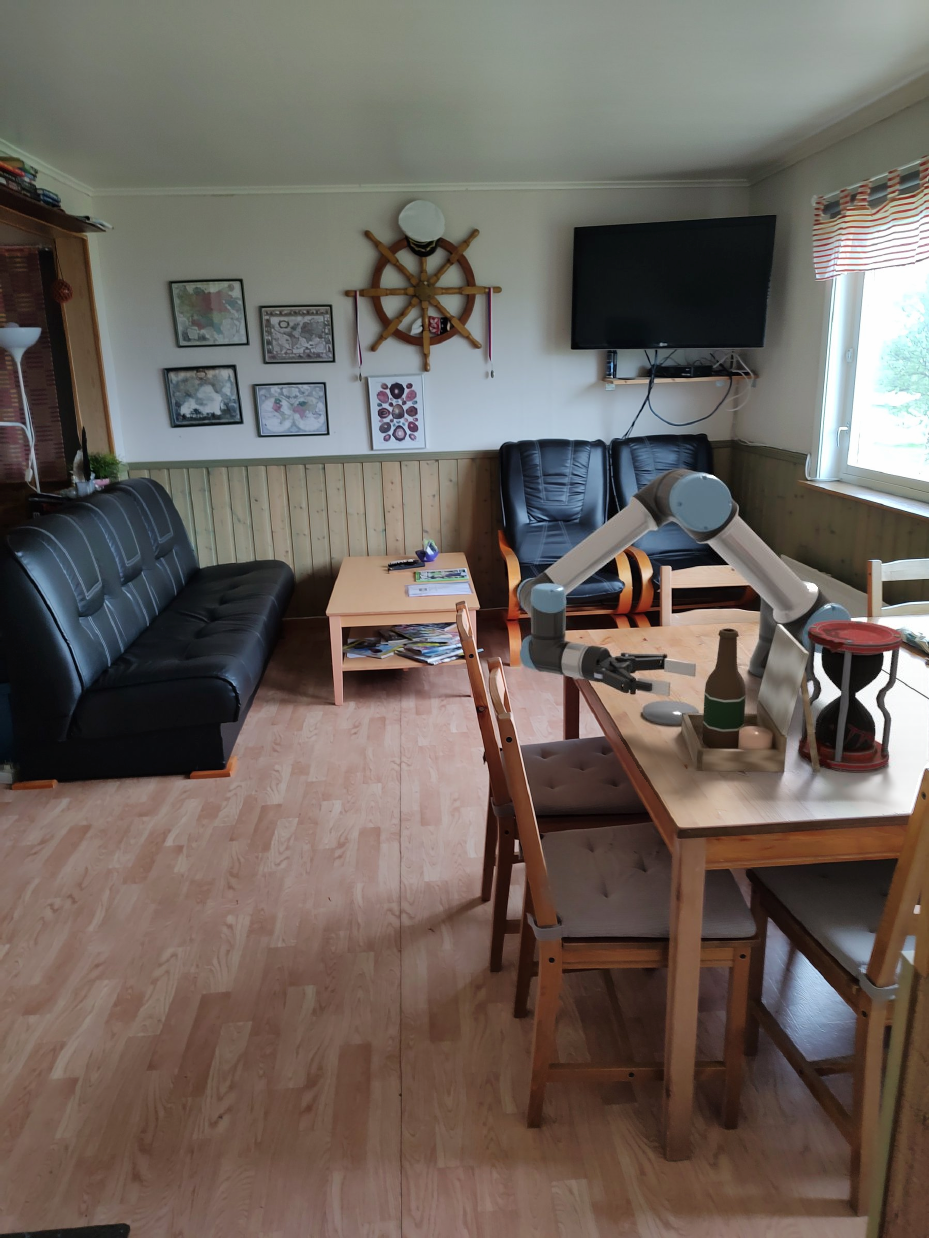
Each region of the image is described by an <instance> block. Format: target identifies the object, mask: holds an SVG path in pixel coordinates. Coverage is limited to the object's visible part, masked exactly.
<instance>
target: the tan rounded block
mask: <svg viewBox="0 0 929 1238" xmlns="http://www.w3.org/2000/svg"><path fill="white" fill-rule="evenodd" d="M772 736H773V733H772V732H771V731H770V730H768V729H766V728H762V727H757V726H747V727H743V728H741V729H740V730H739V743H738V749H772Z"/></svg>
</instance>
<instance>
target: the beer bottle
mask: <svg viewBox="0 0 929 1238" xmlns="http://www.w3.org/2000/svg"><path fill="white" fill-rule="evenodd" d="M718 631H719V632H718V634H717V635H718V636H719V640H718V649H717V656H716V657H717V658H716V664H715V666H714V667H715V668H714V670H712V671H711V673H710V674H709V675H708V676H707V677H708V678H707V679H706V682H705V686H704V687H705V688H704V693H703V694H704V695H703V696H704V698H703V712H702V713H703V733H702V743H703V744H704V746H706V749H738V743H739V730H740V729H741V728H743V727H744V714H746V713H745V712H746V700H747V699H746V698H747V697H746V696H747V695H746V694H747V693H746V691H747V690H746V683H745V680H744V678H743V676H742V674H741V673H740V671H739V667H738V637H739V631H738V630H736V629H734V628H721V629H720V630H718Z"/></svg>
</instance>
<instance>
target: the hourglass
mask: <svg viewBox="0 0 929 1238" xmlns="http://www.w3.org/2000/svg"><path fill="white" fill-rule="evenodd" d="M808 638H809V649H808V653H809V656H808V661H807V672H808V676H809V677H810V679H809V680H811V681H812V685H813V691H812V695H811V696H809V699H810V705H811V706H812V705H813V703H814V702H816V701H817V700H818V699H819V698H820V695H821V694H822V685H821V682H820V680H819V679H818V678H817V677H816V674H815V670H814V671H813V666H814V667H815V654H816V652H815V643H816V644H818V645H821V646H823V648H822V654H821V653H820V655H821V656H820V657H821V658H820V659H821V667H822V669H823V672H824V674H825V675H826V676H827V678H828V679H829V681H831V682H832V683H833V685H835V687H836V688H837V690H839V692H840V695H838V696H837V697H835V698H834V699H833V700H832V701H830V702H829V703H828V704H827V705H825V706H824V707H823V708H822V709H821V710H820V712H819V713H818V714H817V716H816V720H815V723H814V733H815V739H816V746H817V753H818V760H819V766H820V767H823V768H826V769H830V770H834V771H840V772H849V773H866V772H873V771H878V770H880V769H882V768H885V767H886V766H887V764H889V760H890V751H889V742H890V735H891V727H892V717H891V713H890V712H889V710H888V709H887V707H886V704H885V698H886V696H887V693H888V691H890V690H891V689H892V688H893V687H894V686H895V684H896V681H897V673H898V664H899V653H900V648H901V646H903V635H902V633H901V632H900V631H898V630H896V629H895V628H892V627H889V626H886V625H882V624H878V623H874V622H866V621H863V620H862V621H861V620H851V621H847V620H838V621H824V622H819V623H815V624H812V625H811V626H810V627H808ZM885 652H891V657H890V666H889V676H888V681H887V682H886V683H885V685H884V686H883V687H882V688H880V689H879V690H878V692H877V694H876V697H875V700H876V706H877V708H878V709H879V711H880V712H881V713H882V717H883V719H884V720H883V730H882V739H881V742H880V741H877V740H876V734H877V733H876V721H875V720H874V718H873V715H872V714H871V713H870V711H869V710H868V709H867V707H866V706H865V705H864V704H863V703H862V702H861V701H860V700H859V699H858V698H857V697H856V696H857V695H856V694H858V693H859V692H860V691H861V690H864V689H865V688H866V687H868V686H869V685H870V684H871V683H872V682H874V681H875V680H876V679H877V678H878V676H879V675H880V674H881V672H882V671H883V670H882V669H883V665H884V661H885V660H884V659H885V655H884V653H885ZM801 721H802V724H801V732H800V733H801V735H800V738H799V739H798V749H797V750H798V753H799V754H800V755H801V756H802V758H804V759H805V760H807V761H809V762H810V763H812V760H811V753H810V746H809V740H808V733H807V726H806V720H805V713H804V707H803V711H802V720H801Z"/></svg>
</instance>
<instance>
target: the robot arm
mask: <svg viewBox="0 0 929 1238" xmlns="http://www.w3.org/2000/svg"><path fill="white" fill-rule="evenodd" d="M739 509H740V508H739V505H738V503H737V502H736V501H735V500H734V499H733V498H732V495H731V491H730V490H729V488H728V486H727V485H726V484H725V483H724V482H723V481H722V480H720V479H719V478H718V477H716V476H714V475H713V474H709V473H706V472H698V471H694V470H690V469H688V468H687V469H686V468H674V469H669V470H667V471H665V472H663V473H661V474H659V475H658V476H656V477H655V478H654V479H652V480H651V481H650V482H649V483H647V484H646V485H645V486H644V487H642V488H641V489H639V490H638V491H637V492H636V493H634V494H633V495H631V496H630V499H629V503H628V505H627V506H625V507H624V508H622V509H621V511H619V512H618V513H616V514H615V515H614V516H613V517H611V518H610V519H609V520H607V521H606V522H605V523H604V524H603V525H601V526H600V527H598V528H597V529H596V530H595V531H594V532H592V533H590V535H588V536H587V537H586V538H585V539H583V540H582V541H581V542H580V543H578V544H577V545H576V546H574V548H572V549H571V550H569V551H568V552H567V553H566V554H565V555H563V556H562V557H560V558H559V559H557V561H556V562H554V563H553V564H552V565H551V566H549V567H548V568H547V569H545V570H544V571H543V572H541V573H540V574H538V575H537V576H536V577H531V578H526V579H525V580H523V581H522V582H521V583H520V584H519V586H518V588H517V594H516V596H517V599H518V602H519V604H520V606H521V608H522V609H523V610H525V612H526V613H527V614H528V616H529V617H530V623H531V624H530V625H531V626H530V627H531V631H530V632H531V634H530V635H527V636H526V637H525V638H524V639H523V640H522V643H521V644H520V647H521V648H520V650H519V659H520V662H521V664H522V666H524V667H525V668H527V669H530V670H535V671H537V672H540V673H541V672H542V673H548V674H553V675H554V674H556V675H560V676H565V677H571V678H573V679H574V680H577V679H580V680H583V679H585V681H589V682H595V683H601V684H604V685H607V686H608V687H611V688H613V689H614V690H617V691H619V692H621V693H625V694H630V695H633V696H634V695H636V694H637V691H638V692H641V693H642V692H643V693H648V694H653V695H659V696H662V697H663V696H664V697H670V695H671V682H670V681H666V680H665V681H664V680H659V679H655V678H649V677H643V676H638V677H637V678H636V677H635V676H634V675H632V674H635V673H636V672H642V671H644V672H647V671H661V670H663V671H664V672H666V673H671V674H677V675H680V676H681V675H682V676H689V677H694V678H695V676H696V669H697V667H696V666H697V663H695V662H690V661H684V660H678V659H672V658H668V654H667V653H662V654H661V653H655V654H654V653H631V652H630V653H629V652H620V655H615V656H612V655H611V653H610V650H609V649H608V648H607V647H605V646H598V645H590V644H588V643H587V644H586V643H582V642H581V643H580V642H576V641H575V642H574V641H568V640H566V626H567V625H566V624H567V623H566V621H567V619H566V616H567V612H566V611H567V598H566V596H567V595H568V594H570V593H571V591H573V590H574V589H575V588H577V587H578V586H580V585H581V584H583V582H584V581H586V580H587V579H588V578H590V577H591V576H592V575H593V574H595V573H596V572H598V571H599V570H600V569H602V568H603V567H604V566H605V565H607V563H610V561H612V560H614V558H616V557H617V556H618V555H619V554H620V553H622V552H623V551H625V550H626V549H627V548H629V546H631V545H632V544H634V543H635V542H636V541H637V540H639V539H641V537H643V536H644V535H645V534H647V533H648V532H650V531H657V530H659V529H660V528H661V527H663V526H664V525H666V524H668V523H670V522H674V523H676V524H678V525H679V526H680V527H681V528H682V529H683V530H684V532H685V533H687V534H688V535H689V536H690V537H691V538H692V539H693V540H694V541H695V542H696V543H698V544H707V545H709V546H710V547H711V548H712V550H714V552H716V553H717V554H718V555H719V556H720V557H721V558H722V559H723V560H724V561H725V562H726V563H727V564H728V565H729V566H730V567H731V568H732V569H733V570H734V571H735V572H736V573H737V574H738V575H739V576H740V577H741V578H742V579H743V580H744V581H745V582H746V583H747V584H748V585H749V586H750V587H751V588H752V589H753V590H754V591H755V592H756V593H757V594H758V595H759V596H760V608H759V609H760V610H759V627H758V639H757V643H756V645H755V648H754V650H753V653H752V655H751V656H750V659H749V665H748V666H749V668H748V670H749V672H750V673H751V674H752V675H754V676H755V677H758V678H761V679H763V676H764V672H765V668H766V664H767V661H768V657H769V653H770V649H771V645H772V642H773V638H774V634H775V630H776V626H777V624H780V625H782V626H783V627H784V628H785V629H786V630H787V631H788V632H789V633H790V634H791V635H792V636H793V637H794V638H795V639H796V640H797V641H798V643H799V644H800V645H801V646H802V647H803V648H804V649H805V650H806V651H807V652H808V649H809V638H808V627H810V626H811V625H812V624H815V623H819V622H824V621H838V620H847V621H852V618H851V617H852V616H850V612H848V610H847V609H845V607H844V606H842V605H840V604H839V603H835V602H834V601H832V600H831V599H830V598H829V597H828V596H827V595H826V594H825V593H824V592H823V590H821V589H820V587H818V586H817V585H816V584H815V583H812V582H810V581H806V580H805V581H803V580H801V579H800V577H798V576H797V575H796V574H795V572H793V570H792V569H791V568H790V567H789V566H788V565H787V564H786V563H785V562H784V561H783V560H782V559H781V558H780V557H779V556H778V555H777V554H776V553H775V552H774V551H773V550H772V549H771V547H769V546H768V545H767V544H766V543H765V542H764V541H763V540H762V539H761V537H759V536H758V535H757V534H756V532H754V531H753V530H752V528H751V527H750V526H749V525H748V524H747V523H746V522H745V521H744V520H743V519H742V518H741V517H740V516H739ZM822 648H823V646H821V645H818V644H816V643H815V654H816V653H817V654H820V655H821V654H822ZM807 661H808V660H807ZM813 671H814V672H815V665H814V666H813ZM805 672H806V678H807V681H808V680H811V679H810V677H809V676H808V672H807V663H806V667H805Z"/></svg>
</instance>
